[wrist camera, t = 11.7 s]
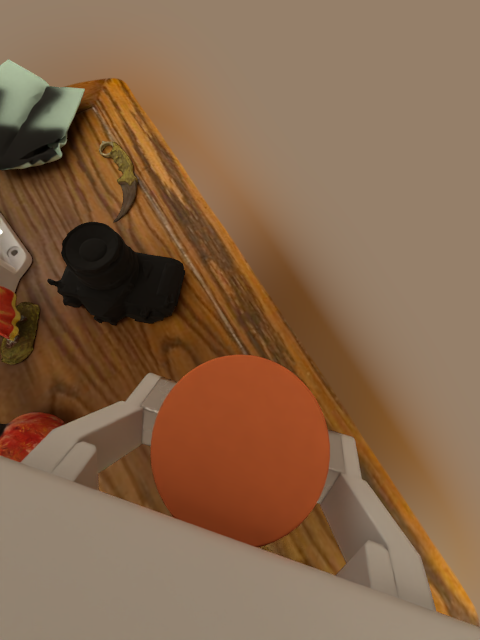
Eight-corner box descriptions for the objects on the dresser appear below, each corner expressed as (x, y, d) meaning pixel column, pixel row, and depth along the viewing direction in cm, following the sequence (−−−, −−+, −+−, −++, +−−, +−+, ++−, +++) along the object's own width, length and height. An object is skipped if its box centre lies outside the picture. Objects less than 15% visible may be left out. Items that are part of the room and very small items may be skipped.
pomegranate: (101, 440, 35) (48, 379, 31) (82, 495, 29) (10, 425, 25) (46, 467, 35) (-15, 409, 31) (13, 528, 28) (-70, 464, 25)
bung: (181, 405, 16) (121, 407, 8) (255, 362, 17) (272, 325, 9) (221, 489, 15) (200, 594, 7) (300, 441, 16) (367, 483, 7)
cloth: (65, 168, 41) (75, 181, 43) (90, 60, 47) (97, 76, 49) (-82, 166, 40) (-65, 179, 43) (-37, 58, 47) (-24, 74, 49)
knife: (112, 225, 42) (145, 215, 41) (108, 222, 41) (142, 212, 40) (99, 146, 45) (129, 136, 45) (96, 141, 44) (126, 131, 44)
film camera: (176, 231, 30) (154, 311, 27) (189, 274, 39) (173, 337, 37) (35, 208, 31) (-2, 284, 28) (80, 256, 40) (56, 317, 37)
